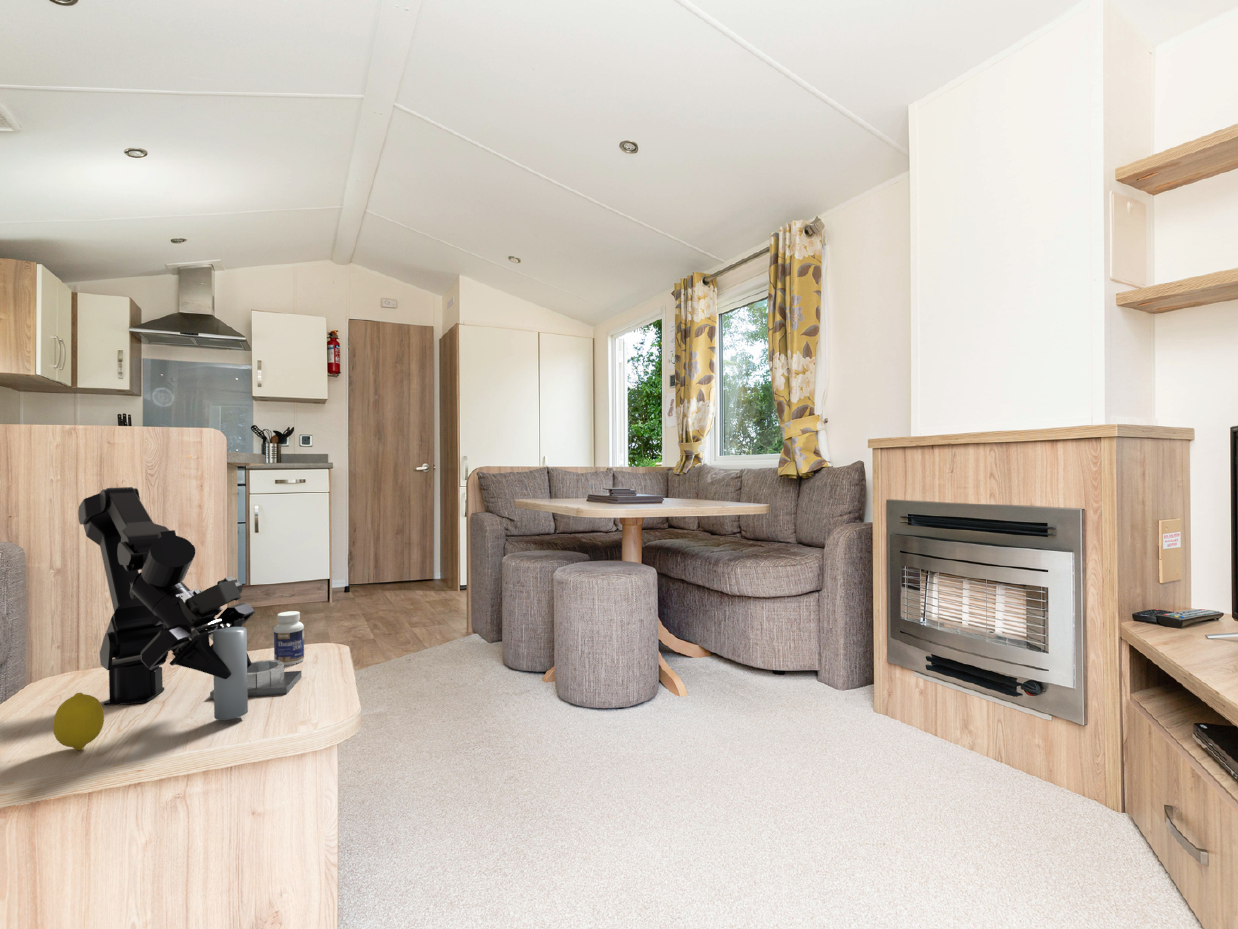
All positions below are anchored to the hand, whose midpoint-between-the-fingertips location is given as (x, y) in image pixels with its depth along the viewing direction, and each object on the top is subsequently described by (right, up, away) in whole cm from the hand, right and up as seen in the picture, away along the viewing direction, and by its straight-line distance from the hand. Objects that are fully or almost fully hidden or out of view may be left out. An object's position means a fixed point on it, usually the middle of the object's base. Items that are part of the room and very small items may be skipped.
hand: (239, 671), depth 103 cm
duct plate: (-5, -7, +15) cm, 17 cm away
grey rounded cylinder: (-1, -7, 0) cm, 7 cm away
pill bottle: (-7, -7, +30) cm, 31 cm away
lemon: (-17, -8, -10) cm, 21 cm away
